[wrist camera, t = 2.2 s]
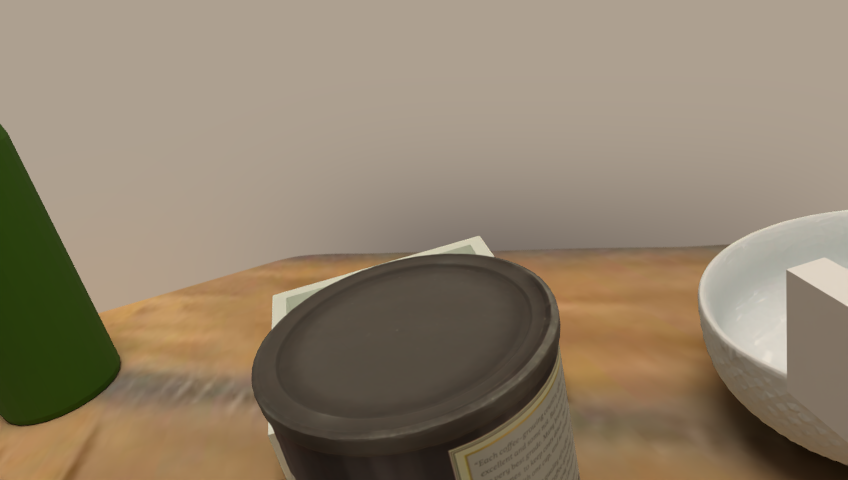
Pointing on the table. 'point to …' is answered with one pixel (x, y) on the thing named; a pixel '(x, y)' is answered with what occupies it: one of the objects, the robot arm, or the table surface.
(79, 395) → the wine bottle
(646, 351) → the table surface
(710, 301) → the cereal bowl
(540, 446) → the coffee can
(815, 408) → the robot arm
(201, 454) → the table surface
